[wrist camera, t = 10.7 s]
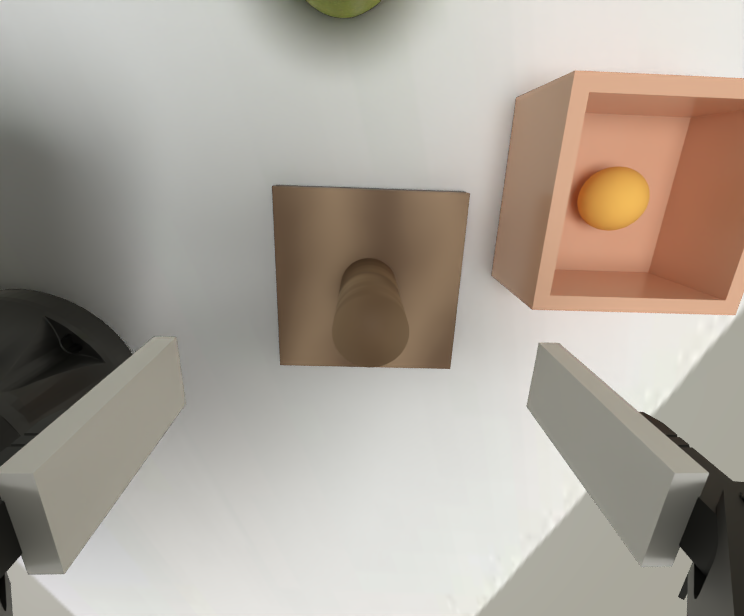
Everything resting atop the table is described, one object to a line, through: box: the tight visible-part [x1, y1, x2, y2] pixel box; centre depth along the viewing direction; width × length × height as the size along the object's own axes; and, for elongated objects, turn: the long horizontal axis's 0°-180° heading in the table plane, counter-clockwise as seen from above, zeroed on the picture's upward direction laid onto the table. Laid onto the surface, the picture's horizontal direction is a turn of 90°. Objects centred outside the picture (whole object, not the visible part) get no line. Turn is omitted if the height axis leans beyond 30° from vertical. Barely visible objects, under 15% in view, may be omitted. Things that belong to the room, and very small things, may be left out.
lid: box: [272, 186, 470, 369], centre depth 23 cm, size 12×12×9 cm
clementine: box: [577, 166, 650, 231], centre depth 23 cm, size 4×4×4 cm
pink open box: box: [491, 71, 744, 315], centre depth 22 cm, size 11×11×7 cm
